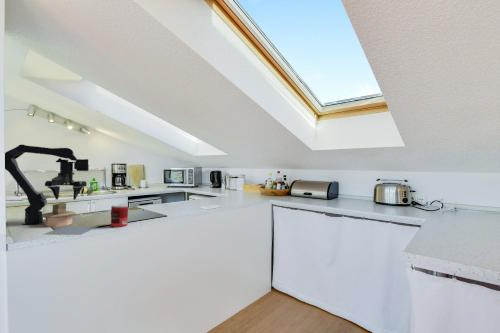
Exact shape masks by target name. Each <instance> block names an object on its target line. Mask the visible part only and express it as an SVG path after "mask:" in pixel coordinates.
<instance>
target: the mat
mask: <svg viewBox="0 0 500 333" xmlns="http://www.w3.org/2000/svg"><path fill="white" fill-rule="evenodd" d="M99 227H100V226H99V225H98V226H97V225H94V226H93V225H92V226H91V225H65V226H61V227H60V228H56V229H54V230H51V231H48V232H45V233H42V235H51V236H53V235H56V236H57V235H60V236H62V235H63V236H64V235H65V236H66V235H67V236H71V235H72V236H73V235H74V236H76V235H78V236H80V235H81V236H82V235H84V234H86V233H88V232H90V231H92V230H94V229H96V228H99Z"/></svg>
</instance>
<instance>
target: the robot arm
mask: <svg viewBox="0 0 500 333" xmlns="http://www.w3.org/2000/svg"><path fill="white" fill-rule="evenodd" d="M4 153H5V169H4V170H6V171H7V172H8V173H9V174H10V176H11V177H12V179H13V180H14V181H15V182H16V183H17V184H18V186H19V188H20V189H21V190H22V191H23V192H24V194H25V195H26V197H27V201H28V203H29V206H27V207H26V208H25V209H24V223H23V222H22V223H21V225H22V226H23V225H26V226H27V225H28V226H31V225H32V226H35V225H36V226H37V225H39V224H42V223H43V224H44V223H45V221H44V217H42V214H43V211H42V210H43V208H44V207H45V206H46V205H47V203H48V201H47V199H48V198H47V197H46V196H45V194H44V193H43V192H38V191H37V190H36V189H35V188H34V186H33V185H32V184H31V183H30V181H29V180H28V179H27V177H26V175H24V173H23V172H22V171H21V169H20V168H19V164H18V162H17V159H18V158H20V157H21V156H22V155H24V154H25V153H28V154H36V155H37V154H39V155H48V156H54V157H59V158H58V159H56V160H55V163H60V164H59V172H58V174H57V176H55V177H53V178H51V180H46V181H45V182H44V187H47V189H50V190H51V191H52V193H53V196H54V198H55V200H59V196H60V188H61V186H73V187H72V190H73V194H72V195H73V198H72V199H73V200H74V201H76V199H77V198H78V196H79V195H80V193H81V190H83V189H84V188H85V187H87V186H88V185H87V184H88V183H87V182H86V181H85V180H83V181H82V180H77V181H75V180H74V178H73V175H75V172H74V170H76V172H89V170H90V169H89V168H90V166H89V165H90V164H89V159H88V158H87V159H85V158H84V159H80V158H79V159H78V157H76V155H74V151H73V149H71V148H69V147H56V148H55V147H53V148H52V147H45V146H43V147H42V146H35V145H26V144H19V145H17V146H16V147H14V148H11V149H9V150H7V151H6V152H4ZM62 158H63V159H62ZM69 160H70V161H69Z"/></svg>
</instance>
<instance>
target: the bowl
mask: <svg viewBox="0 0 500 333" xmlns="http://www.w3.org/2000/svg"><path fill="white" fill-rule="evenodd" d="M44 224H45V226H46V227H49V228H51V227H55V228H57V227H65V226H70V225H71V224H72V225H73V216H68V217H59V218H45V221H44Z"/></svg>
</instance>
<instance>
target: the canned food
mask: <svg viewBox="0 0 500 333" xmlns="http://www.w3.org/2000/svg"><path fill="white" fill-rule="evenodd" d="M110 207H111V210H110V226H111V228H124V227H127V226H128V224H129V223H128V220H129V218H128V217H129V204H128V203H127V204H126V203H118V204H117V203H116V204H115V203H114V204H111V206H110Z"/></svg>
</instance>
